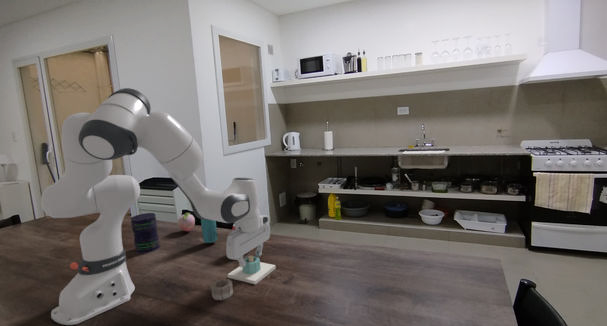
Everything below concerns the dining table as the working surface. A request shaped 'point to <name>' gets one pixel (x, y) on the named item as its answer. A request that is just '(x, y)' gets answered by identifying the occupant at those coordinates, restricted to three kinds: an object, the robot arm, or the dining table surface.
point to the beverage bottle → (209, 230)
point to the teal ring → (251, 265)
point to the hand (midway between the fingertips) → (251, 260)
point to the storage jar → (145, 233)
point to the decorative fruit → (186, 222)
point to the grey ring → (222, 289)
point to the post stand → (254, 277)
